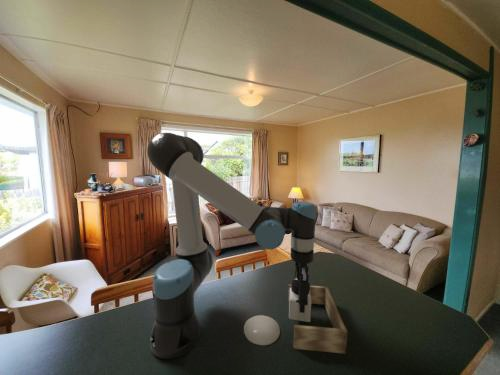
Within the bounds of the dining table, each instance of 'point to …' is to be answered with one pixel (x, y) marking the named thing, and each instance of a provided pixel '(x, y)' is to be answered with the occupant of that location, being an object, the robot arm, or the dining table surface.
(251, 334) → the saucer
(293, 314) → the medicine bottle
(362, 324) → the dining table surface
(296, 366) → the dining table surface
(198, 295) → the dining table surface
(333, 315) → the cubby
